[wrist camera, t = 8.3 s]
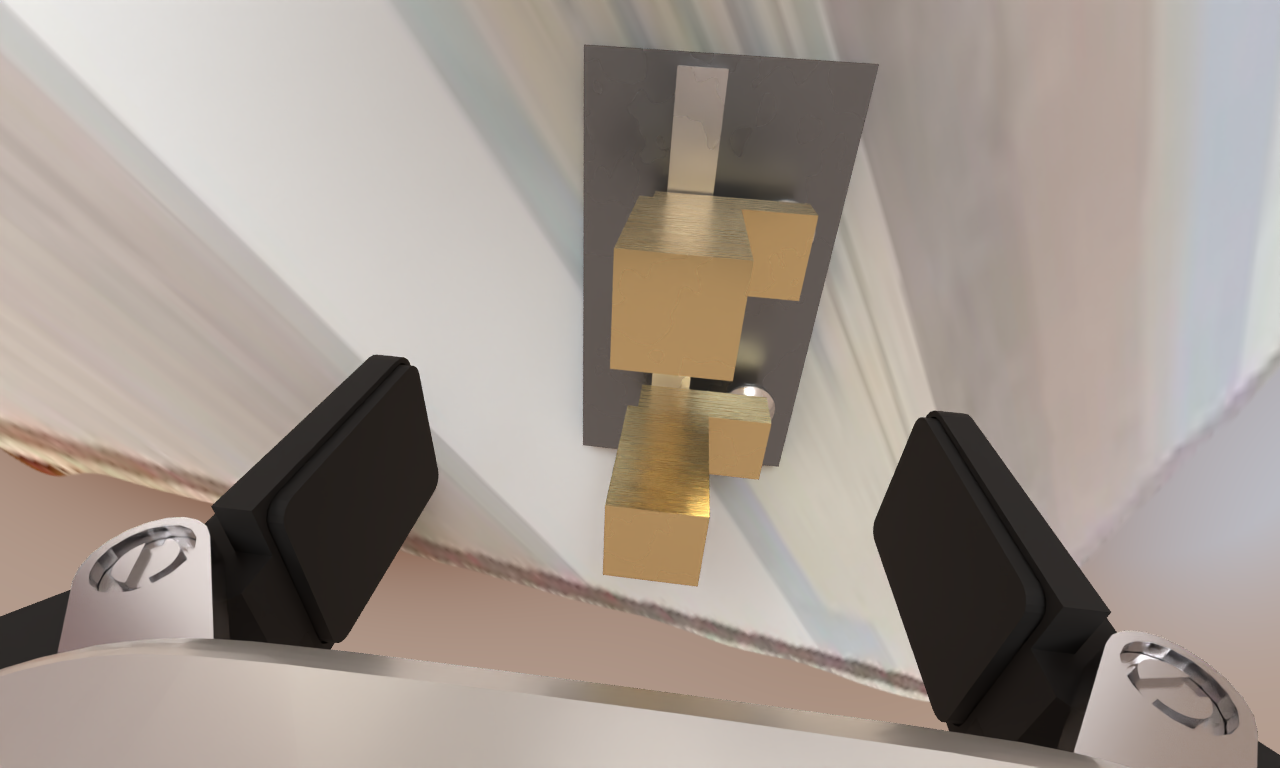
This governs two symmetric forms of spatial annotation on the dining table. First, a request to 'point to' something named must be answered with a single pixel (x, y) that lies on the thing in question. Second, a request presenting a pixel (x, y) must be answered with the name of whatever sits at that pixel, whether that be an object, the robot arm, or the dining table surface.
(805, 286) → the hole plate
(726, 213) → the block
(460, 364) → the dining table surface
